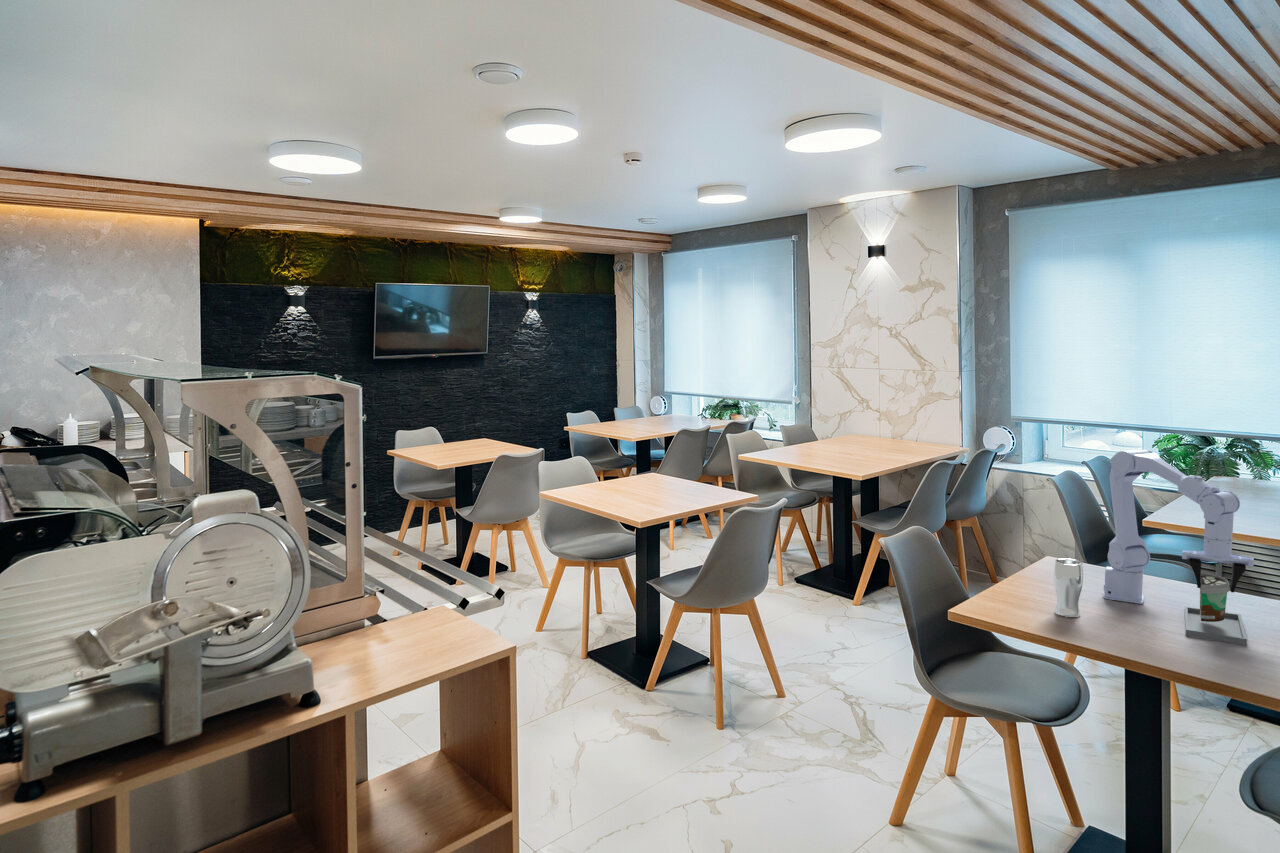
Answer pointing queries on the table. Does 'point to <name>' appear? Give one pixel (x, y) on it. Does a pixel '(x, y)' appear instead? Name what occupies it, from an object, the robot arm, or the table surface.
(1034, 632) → the table surface
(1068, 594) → the beer glass
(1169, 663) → the table surface
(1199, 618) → the gray tray
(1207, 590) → the food container
